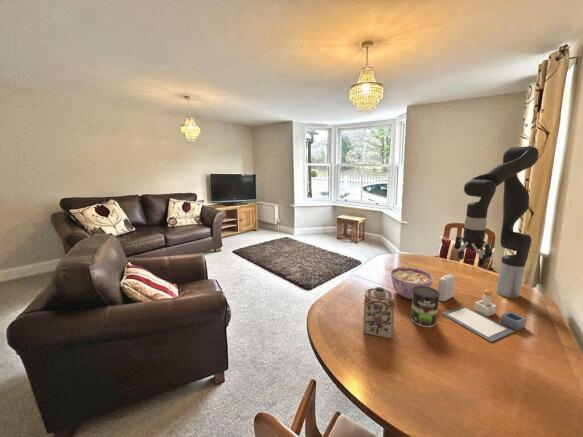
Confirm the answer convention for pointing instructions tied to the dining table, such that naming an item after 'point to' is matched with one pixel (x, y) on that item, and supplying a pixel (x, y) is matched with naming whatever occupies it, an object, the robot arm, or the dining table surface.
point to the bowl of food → (409, 280)
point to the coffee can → (424, 306)
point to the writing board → (478, 323)
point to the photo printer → (446, 287)
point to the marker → (486, 298)
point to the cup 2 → (513, 321)
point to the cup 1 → (485, 308)
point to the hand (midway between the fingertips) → (470, 262)
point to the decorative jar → (379, 312)
